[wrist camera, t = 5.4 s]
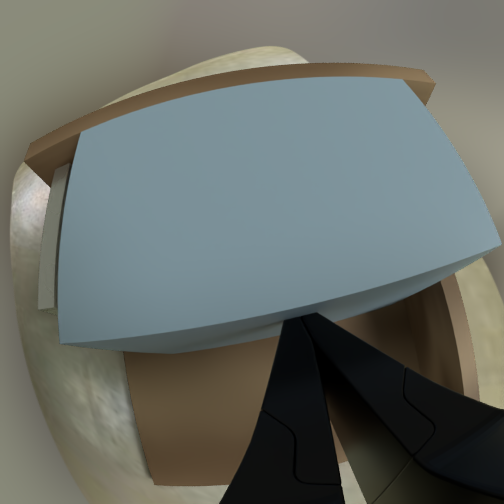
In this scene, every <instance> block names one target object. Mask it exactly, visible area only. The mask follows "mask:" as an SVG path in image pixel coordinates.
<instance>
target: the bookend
mask: <svg viewBox="0 0 504 504" xmlns="http://www.w3.org/2000/svg"><path fill="white" fill-rule="evenodd" d="M71 170H72V164H71V163H68V164H66V165H64V166H62V167H59V168H57V169H55V173H54V177H53V181H52V185H51V190H50V194H49V199H48V204H47V210H46V216H45V222H44V229H43V236H42V244H41V254H40V265H39V282H38V310H40V311H43V312H47V313H50V314H53V315H57V316H58V267H59V251H60V240H61V230H62V222H63V214H64V207H65V201H66V195H67V190H68V184H69V179H70V174H71Z"/></svg>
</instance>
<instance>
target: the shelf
mask: <svg viewBox="0 0 504 504" xmlns="http://www.w3.org/2000/svg"><path fill="white" fill-rule="evenodd" d="M312 77H378V78H393V79H403V80H404V82H405V83H406V84H407V85H408V86H409V87H410V89H411V90H412V91H413V92H414V93H415V94H416V96H417V97H418V98H419V99H420V101H421V102H422V103H423V104H424V106H426V104H427V102H428V100H429V98H430V95H431V93H432V91H433V89H434V87H435V85H436V83H435V82H434V81H433V80H432V79H431V78H430V77H429V76H428V75H427V73H425V71H424V70H420V69H413V68H406V67H397V66H388V65H377V64H376V65H375V64H360V63H359V64H358V63H306V64H289V65H277V66H268V67H259V68H251V69H244V70H238V71H232V72H226V73H220V74H215V75H210V76H205V77H201V78H196V79H192V80H188V81H184V82H180V83H176V84H172V85H169V86H165V87H162V88H158V89H155V90H152V91H148V92H145V93H142V94H139V95H136V96H133V97H130V98H128V99H125V100H122V101H119V102H117V103H114V104H111V105H109V106H106V107H104V108H101V109H99V110H97V111H94V112H92V113H90V114H87V115H85V116H83V117H81V118H78V119H76V120H74V121H72V122H70V123H68V124H66V125H64V126H62V127H60V128H58V129H56V130H54V131H52V132H50V133H48V134H46V135H45V136H43V137H41V138H39V139H37V140H36V141H34V142H32V143H30V146H29V148H28V151H27V154H26V156H25V159H24V162H25V163H26V164H27V165H28V166H29V167H30V168H31V169H32V170H33V171H34V172H35V173H36V174H37V175H38V176H39V177H40V178H41V179H42V180H43V181H44V182H45V183H46V184H47V185H48V186H49V187H50V188H51V185H52V181H53V177H54V173H55V169H57V168H59V167H62V166H64V165H66V164H68V163H71V164H72V165H73V161H74V157H75V153H76V149H77V145H78V141H79V137H80V134H81V132H82V131H85V130H87V129H89V128H92V127H94V126H97V125H99V124H101V123H104V122H107V121H109V120H112V119H114V118H117V117H120V116H123V115H125V114H128V113H131V112H134V111H137V110H140V109H143V108H146V107H149V106H153V105H156V104H159V103H163V102H166V101H170V100H174V99H177V98H181V97H185V96H189V95H193V94H198V93H202V92H207V91H212V90H216V89H222V88H227V87H232V86H238V85H245V84H251V83H258V82H266V81H275V80H284V79H296V78H312ZM334 323H335V324H337V325H339V326H340V327H342V328H344V329H345V330H347V331H349V332H350V333H352V334H353V335H355V336H357V337H358V338H360V339H362V340H363V341H365V342H367V343H368V344H370V345H372V346H373V347H375V348H377V349H378V350H380V351H382V352H383V353H385V354H387V355H388V356H390V357H392V358H393V359H395V360H397V361H398V362H400V363H402V364H404V365H405V368H406V367H409V368H411V369H412V370H414V371H416V372H417V373H419V374H421V375H423V376H425V377H426V378H428V379H430V380H432V381H434V382H436V383H438V384H440V385H442V386H444V387H447V388H449V389H451V390H453V391H455V392H458V393H460V394H463V395H465V396H468V397H470V398H472V399H475V400H477V401H480V398H479V386H478V377H477V369H476V362H475V356H474V350H473V344H472V339H471V334H470V329H469V325H468V320H467V316H466V312H465V308H464V304H463V300H462V297H461V293H460V290H459V286H458V283H457V280H456V277H455V273H454V274H452V275H450V276H448V277H446V278H444V279H442V280H441V281H439V282H437V283H435V284H433V285H431V286H429V287H427V288H425V289H423V290H421V291H419V292H417V293H415V294H413V295H411V296H409V297H407V298H405V299H403V300H401V301H399V302H396V303H394V304H392V305H390V306H386V307H383V308H380V309H377V310H374V311H371V312H367V313H364V314H360V315H357V316H354V317H350V318H347V319H343V320H339V321H336V322H334ZM279 337H280V335H279V336H274V337H269V338H265V339H260V340H255V341H250V342H244V343H239V344H234V345H228V346H222V347H216V348H210V349H204V350H197V351H191V352H183V353H176V354H164V353H143V352H128V351H123V353H124V360H125V367H126V373H127V379H128V385H129V390H130V395H131V401H132V405H133V410H134V415H135V419H136V423H137V427H138V431H139V435H140V439H141V443H142V447H143V450H144V454H145V457H146V460H147V464H148V467H149V470H150V473H151V476H152V479H153V482H154V485H163V486H214V485H229V484H230V483H231V481H232V479H233V477H234V475H235V473H236V471H237V469H238V467H239V465H240V463H241V461H242V459H243V457H244V455H245V453H246V450H247V448H248V446H249V443H250V441H251V438H252V435H253V432H254V429H255V426H256V423H257V420H258V416H259V413H260V411H261V406H262V403H263V399H264V395H265V392H266V388H267V384H268V380H269V377H270V373H271V369H272V365H273V361H274V357H275V353H276V349H277V345H278V341H279ZM330 423H331V421H330ZM331 428H332V433H333V438H334V443H335V449H336V454H337V460H338V464H339V463H342V462H345V461H348V459H347V457H346V455H345V452H344V450H343V448H342V446H341V443H340V441H339V439H338V437H337V434H336V432H335V430H334V428H333V425H332V423H331Z"/></svg>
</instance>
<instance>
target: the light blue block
mask: <svg viewBox="0 0 504 504" xmlns="http://www.w3.org/2000/svg"><path fill="white" fill-rule="evenodd" d="M500 245H502V243H501V240H500V238H499V235H498V232H497V230H496V227H495V225H494V223H493V220H492V219H491V216H490V214H489V211H488V209H487V207H486V205H485V203H484V201H483V198H482V196H481V194H480V193H479V190H478V188H477V187H476V185H475V183H474V181H473V179H472V177H471V175H470V174H469V172H468V170H467V168H466V167H465V165H464V163H463V161H462V160H461V158H460V157H459V155H458V153H457V152H456V150H455V148H454V147H453V145H452V144H451V142H450V141H449V139H448V138H447V136H446V135H445V133H444V132H443V130H442V129H441V127H440V126H439V124H438V123H437V122H436V120H435V119H434V118H433V116H432V115H431V114H430V112H429V111H428V110H427V109H426V107H425V106H424V104H423V103H422V102H421V101H420V99H419V98H418V97H417V96H416V94H415V93H414V92H413V91H412V90H411V89H410V87H409V86H408V85H407V84H406V83H405V82H404V80H403V79H393V78H378V77H312V78H296V79H284V80H275V81H266V82H258V83H251V84H245V85H238V86H232V87H227V88H222V89H216V90H212V91H207V92H202V93H198V94H193V95H189V96H185V97H181V98H177V99H174V100H170V101H166V102H163V103H159V104H156V105H153V106H149V107H146V108H143V109H140V110H137V111H134V112H131V113H128V114H125V115H123V116H120V117H117V118H114V119H112V120H109V121H107V122H104V123H101V124H99V125H97V126H94V127H92V128H89V129H87V130H85V131H82V132H81V134H80V137H79V141H78V145H77V149H76V153H75V157H74V161H73V165H72V170H71V174H70V179H69V184H68V190H67V195H66V201H65V207H64V214H63V222H62V230H61V240H60V251H59V267H58V326H59V341H60V344H64V345H71V346H78V347H86V348H95V349H105V350H115V351H128V352H143V353H164V354H176V353H183V352H191V351H197V350H204V349H210V348H216V347H222V346H228V345H234V344H239V343H244V342H250V341H255V340H260V339H265V338H269V337H274V336H279V335H280V333H281V329H282V324H283V320H286V319H290V318H294V317H299V316H303V315H307V314H311V313H315V312H318V313H319V314H321V315H322V316H324V317H326V318H327V319H329V320H331V321H332V322H336V321H339V320H343V319H347V318H350V317H354V316H357V315H360V314H364V313H367V312H371V311H374V310H377V309H380V308H383V307H386V306H390V305H392V304H394V303H396V302H399V301H401V300H403V299H405V298H407V297H409V296H411V295H413V294H415V293H417V292H419V291H421V290H423V289H425V288H427V287H429V286H431V285H433V284H435V283H437V282H439V281H441V280H442V279H444V278H446V277H448V276H450V275H452V274H454V273H455V272H457V271H459V270H461V269H462V268H464V267H466V266H468V265H469V264H471V263H473V262H474V261H476V260H478V259H479V258H481V257H483V256H484V255H486V254H488V253H489V252H491V251H492V250H494V249H495V248H497V247H498V246H500Z"/></svg>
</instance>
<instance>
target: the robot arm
mask: <svg viewBox="0 0 504 504" xmlns="http://www.w3.org/2000/svg"><path fill="white" fill-rule="evenodd" d="M330 421H331V423H332V425H333V428H334V430H335V432H336V434H337V437H338V439H339V441H340V443H341V446H342V448H343V450H344V452H345V455H346V457H347V459H348V462H349V464H350V466H351V468H352V471H353V473H354V475H355V477H356V480H357V482H358V484H359V487H360V489H361V491H362V493H363V496H364V498H365V500H366V502H367V504H504V409H499V408H496V407H493V406H490V405H487V404H485V403H482V402H480V401H477V400H475V399H472V398H470V397H468V396H465V395H463V394H460V393H458V392H455V391H453V390H451V389H449V388H447V387H444V386H442V385H440V384H438V383H436V382H434V381H432V380H430V379H428V378H426V377H425V376H423V375H421V374H419V373H417V372H416V371H414V370H412V369H411V368H409V367H406V368H405V365H404V364H402V363H400V362H398V361H397V360H395V359H393V358H392V357H390V356H388V355H387V354H385V353H383V352H382V351H380V350H378V349H377V348H375V347H373V346H372V345H370V344H368V343H367V342H365V341H363V340H362V339H360V338H358V337H357V336H355V335H353V334H352V333H350V332H349V331H347V330H345V329H344V328H342V327H340V326H339V325H337V324H335V323H334V322H332V321H331V320H329V319H327V318H326V317H324V316H322V315H321V314H319V313H318V312H315V313H311V314H307V315H303V316H299V317H294V318H290V319H286V320H283V324H282V329H281V333H280V337H279V341H278V345H277V349H276V353H275V357H274V361H273V365H272V369H271V373H270V377H269V380H268V384H267V388H266V392H265V395H264V399H263V403H262V406H261V411H260V413H259V416H258V420H257V423H256V426H255V429H254V432H253V435H252V438H251V441H250V443H249V446H248V448H247V450H246V453H245V455H244V457H243V459H242V461H241V463H240V465H239V467H238V469H237V471H236V473H235V475H234V477H233V479H232V481H231V483H230V485H229V486H228V488H227V490H226V492H225V494H224V496H223V497H222V499H221V501H220V503H219V504H345V500H344V495H343V489H342V486H341V477H340V471H339V465H338V460H337V454H336V449H335V443H334V438H333V433H332V428H331V423H330Z"/></svg>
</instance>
